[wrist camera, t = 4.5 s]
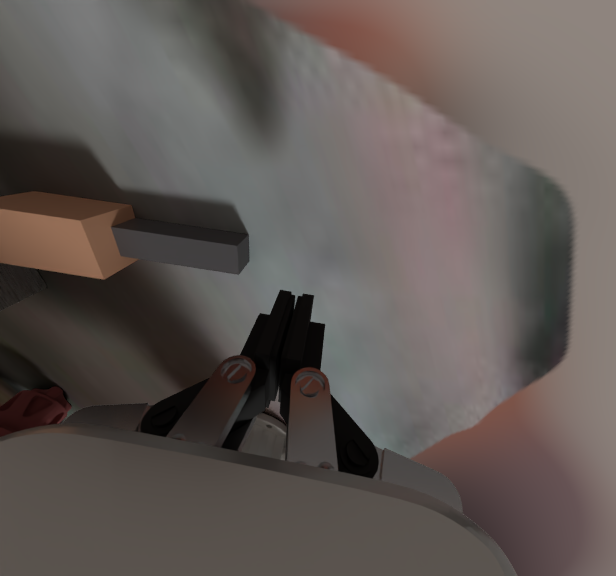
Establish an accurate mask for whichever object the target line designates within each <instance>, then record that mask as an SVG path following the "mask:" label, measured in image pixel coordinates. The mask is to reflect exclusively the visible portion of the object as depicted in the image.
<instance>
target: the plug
mask: <svg viewBox="0 0 616 576" xmlns="http://www.w3.org/2000/svg"><path fill="white" fill-rule="evenodd" d="M139 259H142V260H148V261H155V262H161V263H168V264H174V265H181V266H187V267H193V268H200V269H206V270H213V271H219V272H226V273H232V274H238V275H239V274H240V272H241V271H242V270H243V269H244V267H245V266H246V265H247V263H248V262H249V235H248V234H241V233H234V232H228V231H221V230H214V229H207V228H200V227H194V226H187V225H180V224H173V223H166V222H159V221H153V220H146V219H139V218H135V216H134V212H133V208H132V205H127V204H121V203H114V202H107V201H100V200H93V199H86V198H79V197H72V196H65V195H58V194H51V193H44V192H37V191H32V192H25V193H19V194H13V195H7V196H1V197H0V263H4V264H10V265H16V266H23V267H29V268H35V269H41V270H47V271H54V272H60V273H66V274H72V275H79V276H85V277H91V278H97V279H103V280H104V279H106V278H108V277H110V276H111V275H113V274H115V273H117V272H118V271H120V270H122V269H123V268H125V267H127V266H129V265H130V264H132V263H134V262H135V261H137V260H139Z"/></svg>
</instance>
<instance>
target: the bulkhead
mask: <svg viewBox="0 0 616 576" xmlns="http://www.w3.org/2000/svg"><path fill="white" fill-rule="evenodd" d="M46 288H47V286H46V284H45V283H44V281H43V279H42V277H41V276H40V274H39V272H38V270H37V269H35V268H29V267H23V266H16V265H10V264H4V263H0V311H1V310H3V309H5V308H7V307H9V306H11V305H13V304H15V303H18V302H20V301H22V300H24V299H26V298H28V297H30V296H32V295H34V294H36V293H38V292H40V291H42V290H44V289H46Z"/></svg>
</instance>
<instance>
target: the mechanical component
mask: <svg viewBox="0 0 616 576" xmlns="http://www.w3.org/2000/svg"><path fill="white" fill-rule="evenodd" d="M70 409H71V405H70V404H69V403H68V402H67V400H66V399H65V398H64V396H63V390H62V389H61V388H59V387H56V386H55V387H51V388H50V389H45V390H44V389H32V390H31V391H28V390H24V391H21V392H19V393H18V394H17V395H15V396H14V397H13V398H11V399H10V400H9V401H8V402H6V403H5V404H4V405H2V406H1V407H0V437H2V436H5V435H8V434H11V433H14V432H17V431H21V430H25V429H29V428H34V427H38V426H45V425H52V424H59V423H60V422H61V421H62V420H63V419H64V418H65V417H66V416H67V412H68V411H69V410H70Z"/></svg>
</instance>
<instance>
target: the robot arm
mask: <svg viewBox="0 0 616 576" xmlns="http://www.w3.org/2000/svg"><path fill="white" fill-rule="evenodd" d="M313 298H314V295H308V294H303V295H302V296H298V298H297V302H296V305H295V309H294V304H295V295H291V292H290V291H283V290H280V292H279V294H278V296H277V299H276V301H275V304H274V306H273V309H272V311H271V314H270V315H267V314H261V313H260V314H259V316H258V318H257V320H256V322H255V324H254V326H253V328H252V331H251V333H250V335H249V337H248V339H247V341H246V343H245V346H244V348H243V350H242V352H241V354H240V355H236V356H232V357H229V358H227V359H225V360H224V361H223V362H222V363H221V364H220V365H219V366H218V367H217V369H216V370H215V372H214V373H213V374H212V376H211V377H210V378H208V379H206V380H204V381H202V382H200V383H198V384H195V385H193V386H191V387H189V388H187V389H185V390H183V391H181V392H179V393H176V394H174V395H172V396H170V397H168V398H166V399H164V400H162V401H160V402H158V403H157V404H155V405H149V404H148V403H135V404H114V405H93V406H88V407H84V408H82V409H80V410H78V411H76V412H74V413H73V414H72V415H70V416H69V417H68V418H67V419H66V420H65V421H64V422H63V423H62V424H52V425H45V426H38V427H34V428H29V429H25V430H21V431H17V432H14V433H11V434H8V435H5V436H2V437H0V576H517V574H516V572H515V570H514V569H513V567H512V565H511V563H510V562H509V560H508V558H507V557H506V556H505V554H504V553H503V551H502V550H501V548H500V547H499V546H498V545H497V544H496V542H495V541H494V540H493V539H492V538H491V537H490V536H489V535H488V534H487V533H486V532H485V531H484V530H483V529H481V528H480V527H479V526H478V525H477V524H475V523H474V522H473V521H472V520H470V519H469V518H467V517H466V516H465V515H463V510H462V503H461V499H460V496H459V493H458V491H457V490H456V488H455V486H454V485H453V484H452V483H451V481H450V480H449V479H448V478H447V477H445V476H444V475H443V474H441V473H439V472H437V471H435V470H433V469H431V468H429V467H426V466H424V465H422V464H420V463H417V462H415V461H413V460H411V459H408V458H406V457H404V456H402V455H399V454H397V453H395V452H393V451H391V450H388V449H386V448H384V450H382V449H380V448H378V447H375V446H374V445H373V443H372V442H371V440H370V439H369V438H368V437H367V436H366V434H365V433H364V432H363V431H362V430H361V429H360V427H359V426H358V425H357V424H356V423H355V422H354V421H353V419H352V418H351V417H350V416H349V415H348V414H347V412H346V411H345V410H344V409H343V408H342V407H341V405H340V404H339V403H338V402H337V401H336V400H335V398H334V397H333V396H332V395H331V394H330V386H329V381H328V378H327V377H326V375H325V374H324V373H323V372H321V371H320V368H321V359H322V349H323V340H324V330H325V324H321V323H315V322H310V319H311V312H312V305H313ZM278 388H279V400H278V402H281V404H280V414H281V416H282V417H283V419H284V420H285V422H286V423H287V427H286V426H285V425H284V424H283V423H281V422H280V421H279V420H277V419H275V418H273V417H272V416H269V415H267V414H264V413H261V412H263V411H265V408H266V407H267V408H269V404H270V401H271V400H272V401H275V399H276V395H277V392H278Z"/></svg>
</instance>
